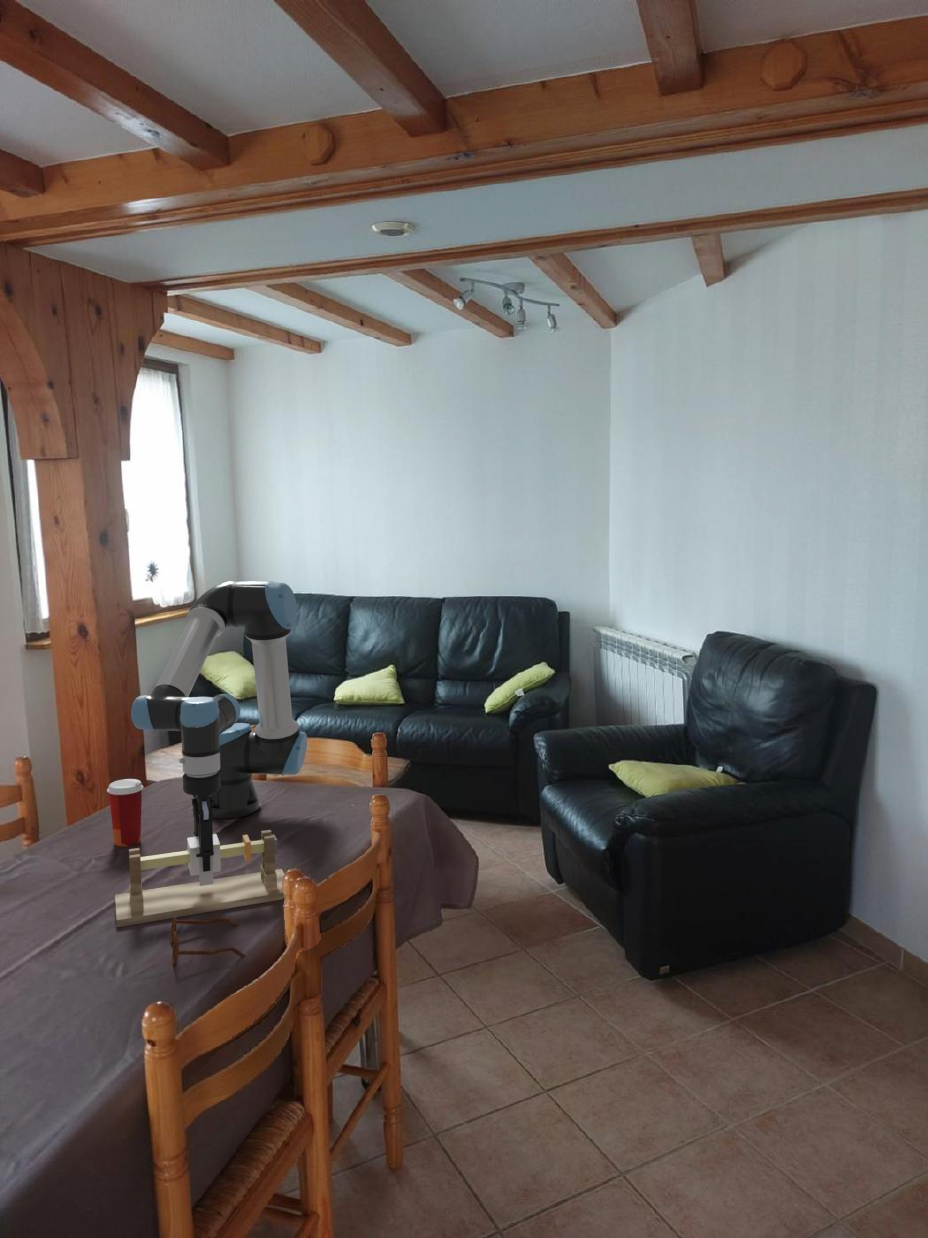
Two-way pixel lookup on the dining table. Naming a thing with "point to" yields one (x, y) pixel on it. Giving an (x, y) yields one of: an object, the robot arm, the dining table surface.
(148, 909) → the wooden rod stand
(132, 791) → the coffee cup
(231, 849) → the pale yellow long bar
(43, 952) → the dining table surface
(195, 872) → the sleeve
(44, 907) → the dining table surface
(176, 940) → the glasses
